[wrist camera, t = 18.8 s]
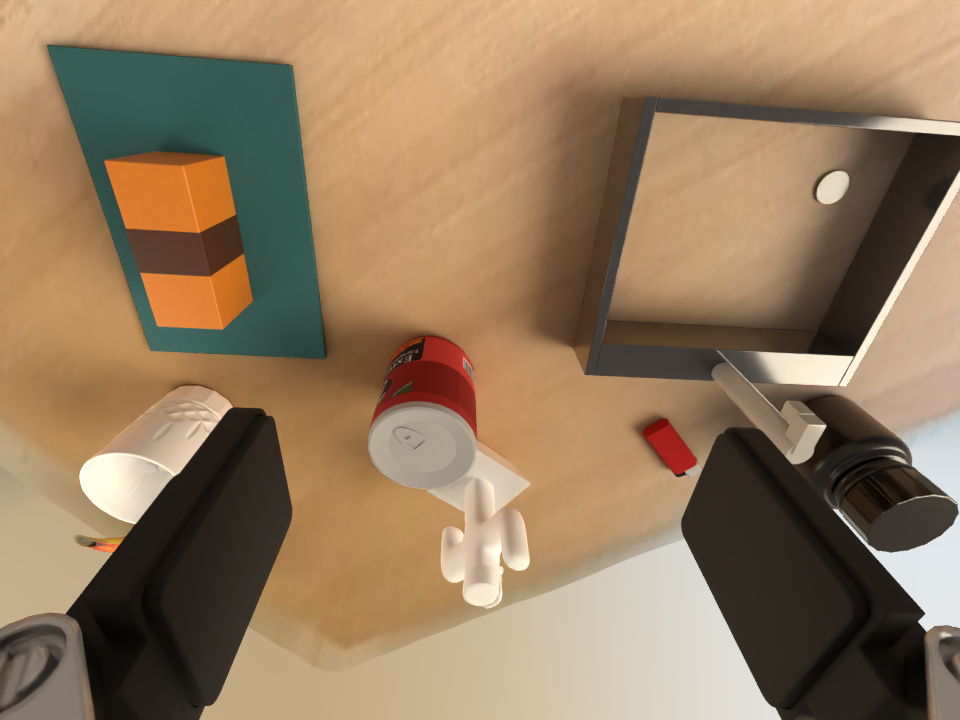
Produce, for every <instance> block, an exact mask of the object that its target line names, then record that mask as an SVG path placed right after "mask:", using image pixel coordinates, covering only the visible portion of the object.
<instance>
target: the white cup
mask: <svg viewBox="0 0 960 720" xmlns="http://www.w3.org/2000/svg"><path fill="white" fill-rule="evenodd" d="M230 408H233V407H232V405H231V404H230V402H229V401H228V400H227V399H226V398H224V397H223V396H221V395H220V394H219V393H217V392H216V391H214V390H211V389H208V388H205V387H201V386H198V385H195V386H180V387H178V388H176V389H175V390H173V391H171V392H169V393H168V394H166V395H165V396H164V397H163V398H162V399H161V400H160V401H159V402H157V403H156V404H155V405H153V406H152V407H150V408H149V409H148V410H146V411H145V412H144V413H143V414H142V415H141V416H140V417H138V418H137V419H136V420H134V421H133V422H132V423H131V424H129V425H128V426H127V427H126V428H125V429H124V430H123V431H121V432H120V433H119V434H118V435H117V436H116V437H115V438H113V439H112V440H111V441H110V442H109V443H108V444H107V445H105V446H104V447H103V448H102V449H101V450H100V451H99V452H97V453H96V454H95V455H94V456H93V457H92V458H90V459H89V460H88V461H87V462H86V463H85V464H84V465H83V467H82V469H81V472H80V483H81V486H82V489H83V491H84V492H85V494H86V495H87V497H88V498H89V499H90V500H91V501H92V502H93V503H94V504H95V505H96V506H97V507H99V508H100V509H102V510H103V511H105V512H106V513H108V514H110V515H112V516H114V517H116V518H118V519H120V520H123V521H126V522H129V523H133V524H136V523H137V522H138V520H139V519H140V518H141V516H142V515H143V514H144V513H145V511H146V510H147V509H148V507H149V506H150V505H151V504H152V502H153V501H154V500H155V499H156V497H157V496H158V495H159V493H160V492H161V491H162V490H163V488H164V487H165V486H166V484H167V483H168V482H169V481H170V480H171V479H172V478H173V477H174V476H175V475H177V474H179V473H180V472H181V471H182V469H183V468H184V467H185V465H186V464H187V463H188V462H189V460H190V459H191V458H192V456H193V455H194V454H195V452H196V451H197V450H198V449H199V447H200V446H201V445H202V443H203V442H204V441H205V439H206V438H207V437H208V436H209V434H210V433H211V432H212V430H213V429H214V428H215V426H216V425H217V424H218V423H219V421H220V420H221V419H222V417H223V416H224V415H225V413H226V412H227V411H228V410H229V409H230Z"/></svg>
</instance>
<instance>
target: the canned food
mask: <svg viewBox="0 0 960 720" xmlns="http://www.w3.org/2000/svg"><path fill="white" fill-rule="evenodd" d="M476 450H477V424H476V398H475V375H474V369H473V366H472V364H471V362H470V360H469V359H468V357H467V356H466V354H465V353H464V351H463V350H462V349H461V348H460V347H458V346H457V345H456V344H454V343H453V342H451V341H448V340H446V339H443V338H440V337H434V336H424V337H418V338H414V339H412V340H410V341H408V342H406V343H405V344H404V345H402V346H401V347H400V348H399V349H397V351H396V352H395V353H394V354H393V356H392V358H391V360H390V363H389V366H388V369H387V373H386V376H385V379H384V382H383V386H382V389H381V392H380V396H379V399H378V402H377V406H376V409H375V412H374V416H373V419H372V423H371V427H370V431H369V436H368V452H369V455H370V458H371V460H372V461H373V463H374V465H375V466H376V467H377V468H378V470H379V471H380V472H381V473H382V474H384V475H385V476H386V477H388V478H389V479H391V480H393V481H395V482H396V483H398V484H401V485H404V486H407V487H412V488H417V489H437V488H441V487H446V486H448V485H451V484H453V483H456V482H457V481H459V480H460V479H462V478H463V477H464V476H465V475H466V474H467V473H468V472H469V471H470V469H471V468H472V466H473V464H474V461H475V458H476Z"/></svg>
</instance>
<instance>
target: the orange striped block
mask: <svg viewBox="0 0 960 720" xmlns="http://www.w3.org/2000/svg"><path fill="white" fill-rule="evenodd" d="M104 162H105V165H106V168H107V172H108V175H109V178H110V181H111V184H112V187H113V190H114V193H115V196H116V200H117V203H118V206H119V209H120V212H121V215H122V218H123V221H124V224H125V227H126V228H125V230H126V233H127V237H128V240H129V243H130V246H131V249H132V252H133V255H134V258H135V261H136V264H137V268H138V271H139V273H140V274H141V277H142V280H143V283H144V286H145V290H146V293H147V296H148V299H149V302H150V305H151V308H152V311H153V314H154V317H155V321H156V324H157V326H161V327H181V328H202V329H224V328H225V327H226V326H227V325H228V324H229V323H230V322H231V321H232V320H233V319H234V318H235V317H236V316H238V315H239V314H240V313H241V312H242V311H243V310H244V309H245V308H246V307H247V306H248V305H249V304H250V303H251V302H252V301H253V298H252V293H251V288H250V282H249V277H248V272H247V267H246V262H245V257H244V249H243V244H242V238H241V233H240V228H239V223H238V218H237V214H236V212H235V207H234V202H233V196H232V191H231V186H230V181H229V176H228V171H227V166H226V161H225V157H224V156H220V155H205V154H191V153H177V152H163V151H156V152H150V153H144V154H138V155H132V156H126V157H120V158H114V159H108V160H105V161H104Z"/></svg>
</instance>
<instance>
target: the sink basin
mask: <svg viewBox="0 0 960 720" xmlns="http://www.w3.org/2000/svg"><path fill="white" fill-rule="evenodd" d="M655 112H657V113H669V114H682V115H694V116H707V117H719V118H732V119H744V120H757V121H769V122H782V123H794V124H806V125H819V126H831V127H844V128H856V129H869V130H881V131H894V132H906V133H916V135H915V137H914V139H913V141H912V143H911V145H910V147H909V149H908V151H907V153H906V155H905V157H904V159H903V161H902V164H901V166H900V168H899V170H898V172H897V174H896V176H895V178H894V180H893V182H892V184H891V186H890V188H889V190H888V192H887V194H886V196H885V198H884V200H883V202H882V204H881V206H880V208H879V210H878V212H877V214H876V216H875V218H874V220H873V222H872V224H871V226H870V228H869V230H868V232H867V234H866V236H865V238H864V240H863V242H862V244H861V246H860V248H859V250H858V252H857V254H856V256H855V258H854V260H853V262H852V264H851V266H850V268H849V270H848V272H847V274H846V276H845V278H844V280H843V282H842V284H841V286H840V288H839V290H838V292H837V294H836V296H835V298H834V300H833V302H832V304H831V306H830V308H829V310H828V312H827V314H826V316H825V318H824V320H823V322H822V324H821V326H820V328H819V330H818V332H814V331H795V330H776V329H757V328H738V327H719V326H700V325H681V324H662V323H644V322H625V321H607V317H608V313H609V309H610V304H611V300H612V296H613V291H614V287H615V283H616V278H617V274H618V270H619V266H620V261H621V257H622V253H623V248H624V244H625V240H626V235H627V231H628V227H629V222H630V218H631V214H632V209H633V205H634V201H635V196H636V192H637V188H638V183H639V179H640V175H641V171H642V166H643V162H644V158H645V153H646V149H647V145H648V140H649V136H650V132H651V127H652V123H653V119H654V114H655ZM849 184H850V179H849V176H848V174H847V173H845V172H843V171H832V172H830V173H828V174H826V175H825V176H824V177H823V178H822V179H821V180H820V181H819V182H818V184H817V186H816V189H815V197H816V199H817V201H818V202H820V203H822V204H831V203H834V202H836V201H838V200H839V199H841V198H842V197H843V196H844V194H845V193H846V192H847V190H848V188H849ZM959 189H960V122H957V121H945V120H933V119H921V118H909V117H897V116H885V115H872V114H860V113H848V112H836V111H824V110H812V109H799V108H787V107H775V106H763V105H751V104H739V103H726V102H714V101H702V100H690V99H678V98H666V97H654V96H624V97H623V102H622V107H621V112H620V117H619V122H618V127H617V132H616V137H615V142H614V147H613V152H612V157H611V162H610V167H609V173H608V178H607V183H606V188H605V193H604V198H603V203H602V208H601V213H600V218H599V223H598V228H597V233H596V238H595V243H594V248H593V253H592V258H591V264H590V269H589V274H588V279H587V284H586V289H585V294H584V299H583V304H582V309H581V314H580V319H579V324H578V329H577V334H576V339H575V344H574V351H575V353H576V355H577V358H578V360H579V362H580V365H581V367H582V369H583V372H584V374H585V375H598V376H620V377H642V378H663V379H685V380H707V381H716V382H717V384H718V385H719V386H720V387H721V388H722V389H723V390H724V392H725V393H726V394H727V395H728V396H729V397H730V398H731V399H732V401H733V402H734V403H735V404H736V405H737V406H738V407H739V409H740V410H741V411H742V412H743V413H744V414H745V415H746V416H747V418H748V419H749V420H750V421H751V422H752V423H753V424H754V426H755V427H756V428H757V429H760V430H761V431H763V432H764V433H765V434H766V435H767V436H768V438H769V439H770V440H771V441H772V442H773V443H774V444H775V445H776V447H777V448H778V449H779V450H780V451H781V452H782V453H783V454H784V456H785V457H786V458H787V459H788V460H789V461H790V462H791V463H792V464H800V463H803V462H805V461H807V460H808V459H809V458H810V457H811V456H812V455H813V453H814V447H815V445H816V443H817V442H818V440H819V438H820V437H821V435H822V433H823V431H824V430H825V428H826V426H827V425H826V424H825V423H824V422H823V421H821V420H820V419H819V418H818V417H817V416H816V415H815V414H814V413H813V412H812V411H811V410H810V409H809V408H808V407H807V406H806V405H804V404H803V403H802V402H801V401H786V402H785V404H784V406H783V408H782V410H781V413H780V412H779V411H778V410H777V409H776V408H775V407H774V406H773V405H772V404H771V403H770V402H769V401H768V400H767V399H766V398H765V397H764V396H763V395H762V394H761V393H760V392H759V391H758V390H757V389H756V388H755V387H754V386H753V385H752V384H751V383H773V384H795V385H816V386H839V387H846V386H847V385H848V383H849V381H850V380H851V378H852V376H853V374H854V373H855V371H856V369H857V367H858V366H859V364H860V362H861V360H862V359H863V357H864V355H865V353H866V352H867V350H868V348H869V346H870V345H871V343H872V341H873V339H874V338H875V336H876V334H877V332H878V331H879V329H880V327H881V325H882V324H883V322H884V320H885V318H886V317H887V315H888V313H889V311H890V310H891V308H892V306H893V304H894V303H895V301H896V299H897V297H898V296H899V294H900V292H901V290H902V289H903V287H904V285H905V283H906V282H907V280H908V278H909V276H910V275H911V273H912V271H913V269H914V268H915V266H916V264H917V262H918V261H919V259H920V257H921V255H922V254H923V252H924V250H925V248H926V247H927V245H928V243H929V241H930V240H931V238H932V236H933V234H934V233H935V231H936V229H937V228H938V226H939V224H940V222H941V221H942V219H943V217H944V215H945V214H946V212H947V210H948V208H949V207H950V205H951V203H952V201H953V200H954V198H955V196H956V194H957V193H958V191H959ZM750 382H751V383H750Z"/></svg>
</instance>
